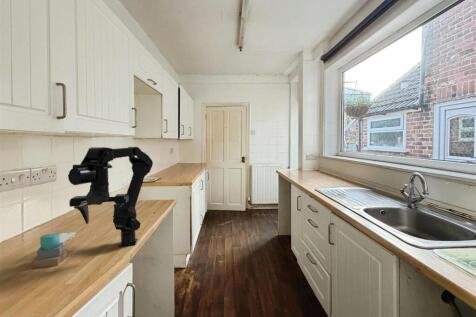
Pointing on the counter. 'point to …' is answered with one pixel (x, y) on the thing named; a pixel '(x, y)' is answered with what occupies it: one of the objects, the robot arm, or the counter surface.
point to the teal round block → (49, 241)
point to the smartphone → (66, 236)
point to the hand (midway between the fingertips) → (101, 222)
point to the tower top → (50, 252)
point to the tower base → (49, 261)
